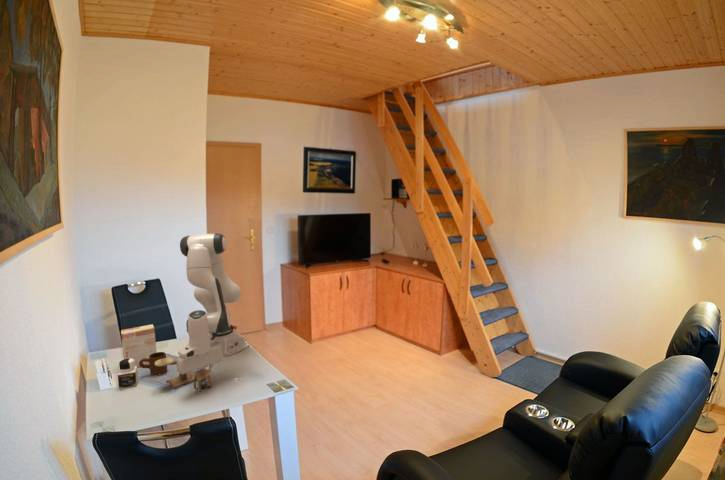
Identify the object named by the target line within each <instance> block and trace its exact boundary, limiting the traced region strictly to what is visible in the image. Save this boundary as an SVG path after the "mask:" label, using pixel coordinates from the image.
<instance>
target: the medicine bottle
mask: <svg viewBox="0 0 725 480" xmlns="http://www.w3.org/2000/svg"><path fill="white" fill-rule="evenodd" d="M118 366H119V371H118V373H117V380H118V389H119V390H123V389H127V388H133V387H136V386H138V381H139V373H138V372H139V371H138V368H137V366H135V364H134V359H131V358H128V359H124V358H123V359H122V360H120V361H119V365H118Z"/></svg>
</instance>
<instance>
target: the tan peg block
mask: <svg viewBox="0 0 725 480" xmlns="http://www.w3.org/2000/svg"><path fill="white" fill-rule="evenodd" d="M193 374H195V375H196V377H197V378H196V379H197V380H198V381H196V379H194V380H193V381H194V382H193V389H197V385H199V388H198V393H201V392H202V390H201V380H202V379H205V378H206V379H208V388H209V389H211V388H212V373H211V372H210V371H209V370H207V368H205V367H203V368H200V369H197V370H195V371H194V373H193Z"/></svg>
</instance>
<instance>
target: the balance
mask: <svg viewBox="0 0 725 480" xmlns="http://www.w3.org/2000/svg"><path fill="white" fill-rule="evenodd" d="M172 365H173V366H175V365H177V360H176V361H175V358H174V357H166V358H162V359H159V360H157V361H156V362H155V366H167V367H168V366H172ZM178 374H179V375H178V376H176V377H174V378H171V379H167V380H166V382H167V383H169V384H170V385H171V386H172V387H173V388H172V387H171V386H170V385H169V386H170V387H171V388H172V389H174V390H177V389H180V388H182V387H185V386H187V385H190V384H192V383H193V384H194V381H193V379H192V376H191V375H190V373H189V372H188V373H185V374H180V373H179V372H178ZM196 382H198V380H197V379H196ZM167 383H166V384H167Z"/></svg>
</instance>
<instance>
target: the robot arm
mask: <svg viewBox="0 0 725 480" xmlns="http://www.w3.org/2000/svg"><path fill="white" fill-rule="evenodd" d="M226 248H227V239H226V237H225V236H224V235H223V234H221V233H218V232H217V233H216V232H215V233H201V234H193V235H187V236H186V235H185V236H183V237H182V238H181V239H180V242H179V249H180V252H181V255H183V256H184V257H186V267H185V268H186V279H187V281H188V282H189V283H190V284H191V285H192V286H194V287H195V289H194V291H193V296H194V299H195V300H196V301H197V302H198V303H199V304H201V305H202V306H203V308H204V310H205V311H204V310H201V309H200V310H194V311H191V312H189V314H188V317H187V320H186V324H185V325H186V332H187V334H188V338H189V339H188V344H186V345H185V346H183V347H181V348H180V349H178V351H177V353H178V357H177V360H176V361H177V364H176V369H177V370H176V371H177V372H178V374H179V373H180V374H185V373H190V375H191V376H192V379H193V380H194V379H196V378H197V377H196V375H195V374H193V373H194V372H195V371H197V370H200V369H203V368H205V367H207V366H209V367H208V369H207V368H206V369H207V370H209V371H210V372H211V374H212V370H213V368H214V366H215V365H214V364H216V363H220V362H221V361H223V359H224V356H225V357H226V356H227V357H230V356H232V355H235V354H236V353H239V352H241V351H243V350H245V349H247V348H249V347H250V344H249V342H247V341H245V340H246V339H245V337H244V335H242V334H241V333H239V332H238V331H235V330H237V329H238V326H237V325H233V324H231V316H230V315H231V314H230V312H229V310H228V309H227V306H226V304H233V303H236V302H238V301H239V300H240V299H241V296H242V289H241V287H240V286H239V285H238V284H236V283H235V282H234V281H233V280H232V279H231V278H230V277H229V276H228V274H227V272H226V269H225V265H224V260H223V256H222V254H223V253H224V252H225V251H226V250H227V249H226ZM247 344H248V345H247Z"/></svg>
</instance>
